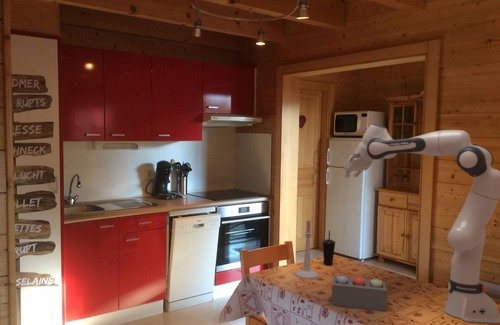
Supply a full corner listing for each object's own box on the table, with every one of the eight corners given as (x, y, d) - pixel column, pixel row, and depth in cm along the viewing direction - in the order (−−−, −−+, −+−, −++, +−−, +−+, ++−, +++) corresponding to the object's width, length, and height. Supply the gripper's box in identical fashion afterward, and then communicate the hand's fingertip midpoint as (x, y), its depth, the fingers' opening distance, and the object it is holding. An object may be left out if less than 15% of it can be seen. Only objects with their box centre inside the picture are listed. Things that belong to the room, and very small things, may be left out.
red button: (364, 285, 194) (364, 277, 194) (364, 289, 189) (364, 281, 189) (353, 284, 195) (353, 276, 195) (353, 287, 190) (353, 280, 190)
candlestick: (293, 271, 237) (295, 217, 236) (317, 272, 237) (319, 218, 235) (295, 278, 224) (297, 221, 223) (320, 279, 224) (322, 222, 222)
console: (384, 301, 195) (384, 281, 195) (385, 311, 184) (386, 290, 183) (332, 295, 201) (333, 276, 200) (331, 304, 189) (332, 284, 189)
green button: (381, 287, 192) (381, 279, 192) (382, 290, 187) (382, 283, 187) (370, 286, 193) (370, 278, 193) (370, 289, 188) (371, 281, 188)
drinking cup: (330, 262, 256) (331, 229, 255) (337, 265, 249) (338, 231, 248) (319, 263, 254) (320, 229, 253) (325, 267, 247) (327, 232, 246)
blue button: (347, 283, 195) (347, 276, 195) (347, 287, 191) (347, 279, 191) (336, 282, 197) (336, 275, 196) (336, 285, 192) (336, 278, 192)
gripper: (358, 157, 204) (345, 181, 209) (378, 156, 219) (365, 179, 224) (348, 150, 208) (335, 174, 213) (368, 150, 223) (355, 172, 228)
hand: (350, 176), depth 219 cm, fingers open, 8 cm apart
